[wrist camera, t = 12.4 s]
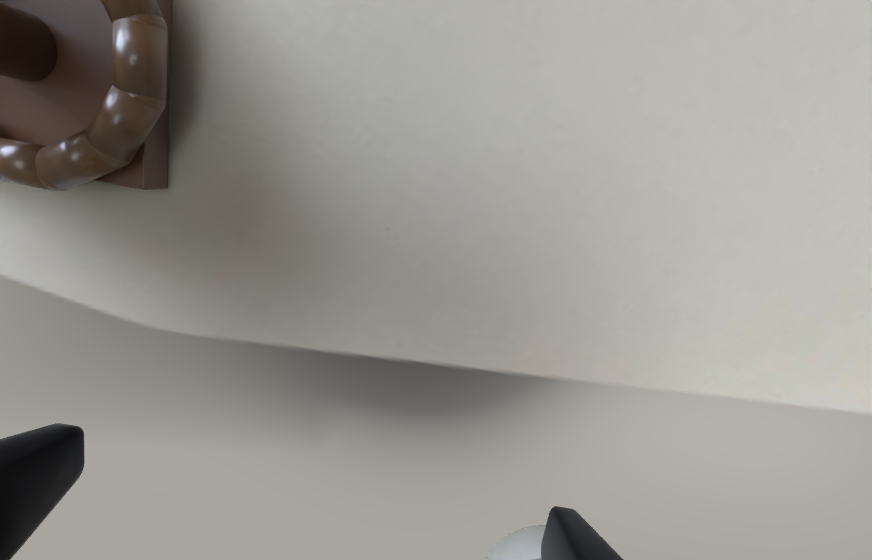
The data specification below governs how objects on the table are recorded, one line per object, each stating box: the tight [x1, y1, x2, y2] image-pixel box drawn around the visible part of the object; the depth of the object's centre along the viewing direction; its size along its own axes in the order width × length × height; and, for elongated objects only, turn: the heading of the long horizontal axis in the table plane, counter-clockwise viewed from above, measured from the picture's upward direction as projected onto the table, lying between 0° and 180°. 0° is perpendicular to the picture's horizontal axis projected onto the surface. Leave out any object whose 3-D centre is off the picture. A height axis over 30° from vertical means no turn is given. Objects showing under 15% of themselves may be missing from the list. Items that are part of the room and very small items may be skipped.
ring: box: [0, 0, 168, 191], centre depth 15 cm, size 10×10×2 cm
